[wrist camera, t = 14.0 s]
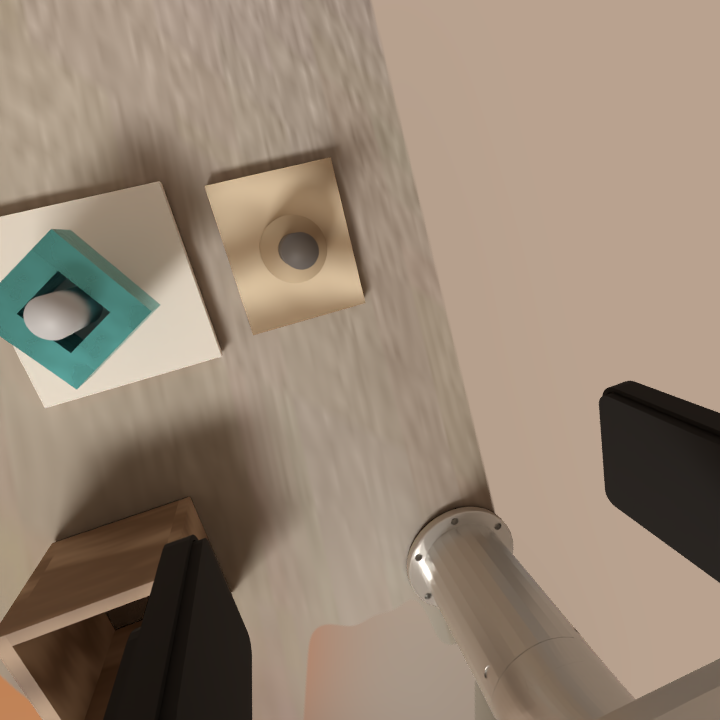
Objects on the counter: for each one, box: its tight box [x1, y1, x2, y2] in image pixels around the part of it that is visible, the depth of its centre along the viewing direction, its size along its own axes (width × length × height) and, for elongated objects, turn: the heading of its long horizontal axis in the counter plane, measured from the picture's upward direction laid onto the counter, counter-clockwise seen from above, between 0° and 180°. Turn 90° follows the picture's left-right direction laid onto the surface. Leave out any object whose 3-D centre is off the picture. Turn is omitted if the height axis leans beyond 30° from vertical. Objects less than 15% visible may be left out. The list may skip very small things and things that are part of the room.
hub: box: [0, 181, 222, 408], centre depth 30 cm, size 14×14×10 cm
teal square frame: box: [0, 229, 160, 389], centre depth 28 cm, size 7×7×3 cm
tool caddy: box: [0, 497, 232, 720], centre depth 37 cm, size 12×12×10 cm
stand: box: [204, 157, 365, 335], centre depth 33 cm, size 12×10×8 cm
